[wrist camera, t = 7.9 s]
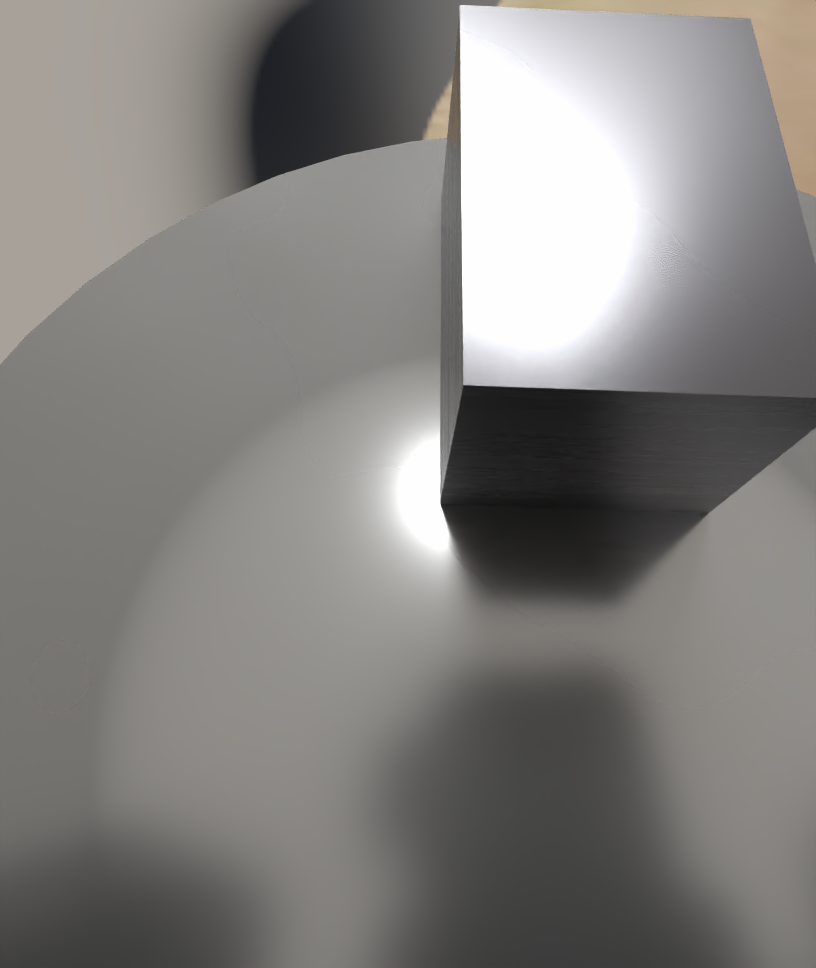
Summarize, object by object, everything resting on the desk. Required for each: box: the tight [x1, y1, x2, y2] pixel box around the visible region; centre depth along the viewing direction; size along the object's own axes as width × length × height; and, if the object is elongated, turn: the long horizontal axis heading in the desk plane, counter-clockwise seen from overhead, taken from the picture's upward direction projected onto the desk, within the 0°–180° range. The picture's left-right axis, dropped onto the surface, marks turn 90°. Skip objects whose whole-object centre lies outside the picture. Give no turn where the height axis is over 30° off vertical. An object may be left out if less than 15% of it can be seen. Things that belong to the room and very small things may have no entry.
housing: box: [0, 5, 816, 968], centre depth 8 cm, size 6×6×14 cm
